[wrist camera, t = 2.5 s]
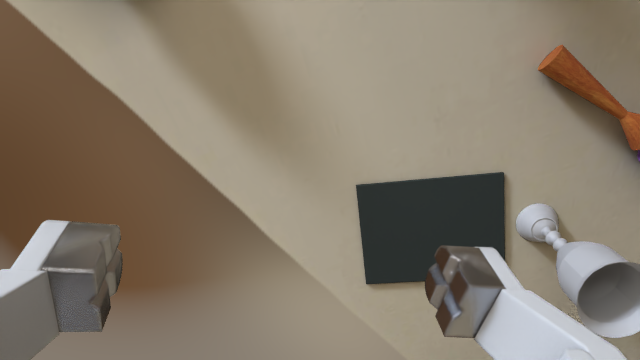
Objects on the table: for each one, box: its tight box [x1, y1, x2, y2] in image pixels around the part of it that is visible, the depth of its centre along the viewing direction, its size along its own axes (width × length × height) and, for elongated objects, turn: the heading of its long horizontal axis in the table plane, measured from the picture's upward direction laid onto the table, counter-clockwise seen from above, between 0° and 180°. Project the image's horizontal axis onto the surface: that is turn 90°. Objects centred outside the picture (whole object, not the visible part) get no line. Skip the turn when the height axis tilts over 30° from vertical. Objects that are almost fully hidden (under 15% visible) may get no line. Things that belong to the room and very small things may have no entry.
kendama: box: [538, 45, 640, 162], centre depth 46 cm, size 6×6×20 cm
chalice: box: [516, 204, 640, 338], centre depth 45 cm, size 7×7×18 cm
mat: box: [356, 172, 505, 284], centre depth 55 cm, size 18×14×1 cm
